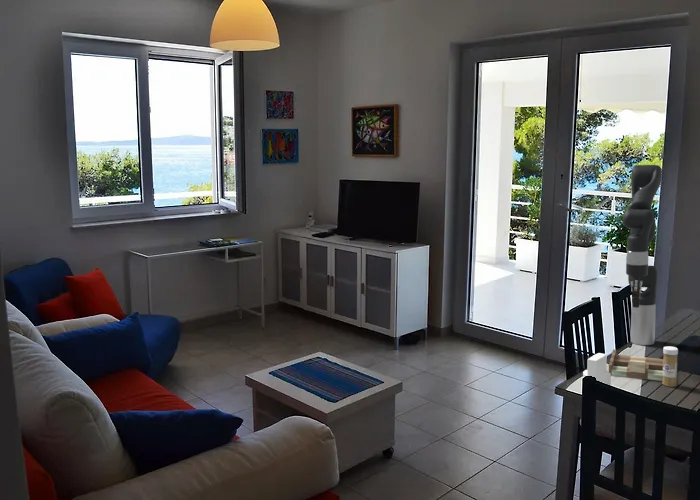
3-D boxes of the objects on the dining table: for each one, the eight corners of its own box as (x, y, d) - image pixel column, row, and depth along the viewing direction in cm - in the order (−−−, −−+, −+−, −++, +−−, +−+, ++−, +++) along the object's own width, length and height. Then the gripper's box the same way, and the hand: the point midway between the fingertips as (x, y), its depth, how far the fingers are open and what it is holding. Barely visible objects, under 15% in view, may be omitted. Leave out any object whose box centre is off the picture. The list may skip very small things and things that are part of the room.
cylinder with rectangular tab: (589, 383, 223) (590, 351, 221) (615, 389, 216) (615, 356, 214) (578, 390, 216) (578, 357, 215) (603, 396, 210) (604, 362, 208)
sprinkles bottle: (660, 385, 217) (661, 348, 215) (664, 381, 221) (665, 345, 219) (675, 388, 214) (676, 350, 212) (678, 384, 218) (679, 347, 216)
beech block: (630, 366, 232) (630, 356, 231) (645, 367, 229) (645, 357, 229) (629, 371, 226) (629, 361, 226) (644, 373, 224) (644, 362, 224)
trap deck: (613, 359, 246) (613, 349, 246) (666, 364, 237) (667, 354, 237) (608, 374, 230) (608, 364, 229) (666, 381, 221) (666, 370, 220)
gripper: (647, 266, 226) (646, 312, 229) (648, 259, 237) (647, 303, 240) (625, 265, 229) (624, 310, 232) (627, 258, 241) (626, 302, 244)
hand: (635, 306), depth 236 cm, fingers closed
